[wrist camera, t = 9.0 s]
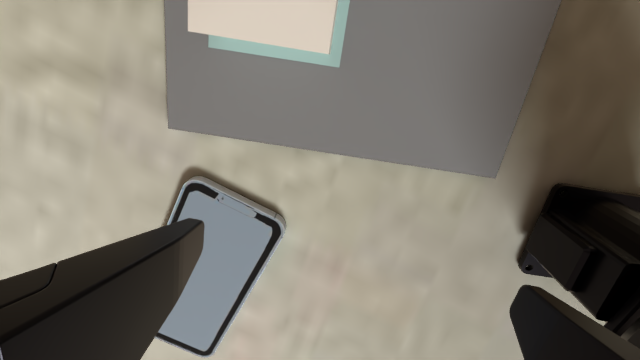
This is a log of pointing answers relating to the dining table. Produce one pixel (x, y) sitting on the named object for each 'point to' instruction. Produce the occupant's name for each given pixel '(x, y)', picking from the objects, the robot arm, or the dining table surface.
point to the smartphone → (219, 263)
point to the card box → (267, 21)
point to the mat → (369, 82)
